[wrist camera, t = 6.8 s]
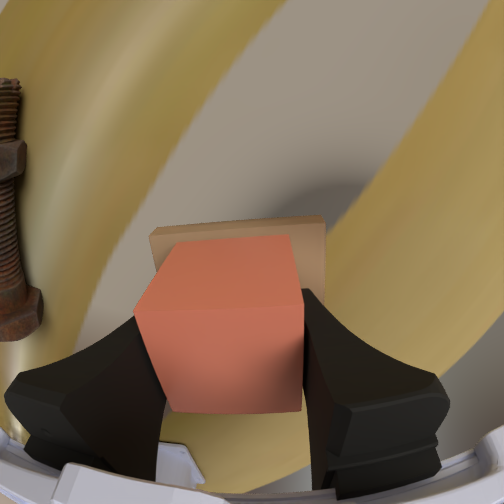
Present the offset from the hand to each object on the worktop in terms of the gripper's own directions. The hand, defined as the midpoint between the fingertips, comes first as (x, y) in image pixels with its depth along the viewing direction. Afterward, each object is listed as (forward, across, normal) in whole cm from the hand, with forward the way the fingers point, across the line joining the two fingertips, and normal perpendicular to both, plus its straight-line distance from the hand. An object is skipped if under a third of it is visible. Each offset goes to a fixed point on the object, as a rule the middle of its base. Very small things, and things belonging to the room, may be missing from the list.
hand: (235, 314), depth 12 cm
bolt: (+4, +14, -5) cm, 15 cm away
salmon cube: (+2, 0, 0) cm, 2 cm away
